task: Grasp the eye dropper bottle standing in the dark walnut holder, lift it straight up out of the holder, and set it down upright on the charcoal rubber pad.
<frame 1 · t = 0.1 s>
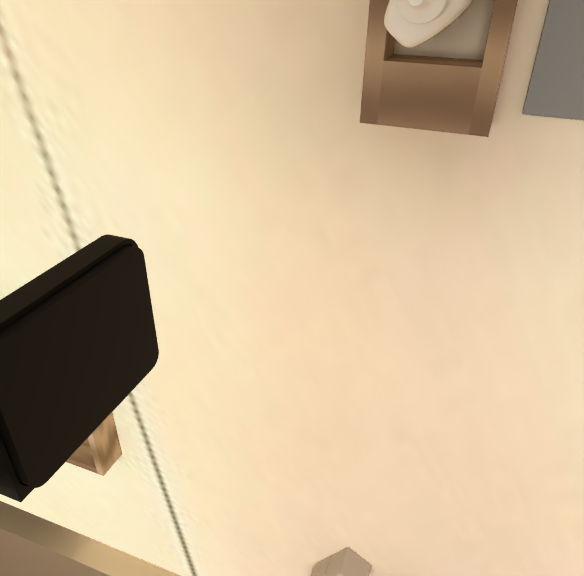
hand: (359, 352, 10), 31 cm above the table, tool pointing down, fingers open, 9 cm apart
box frame: (51, 381, 71), on the table
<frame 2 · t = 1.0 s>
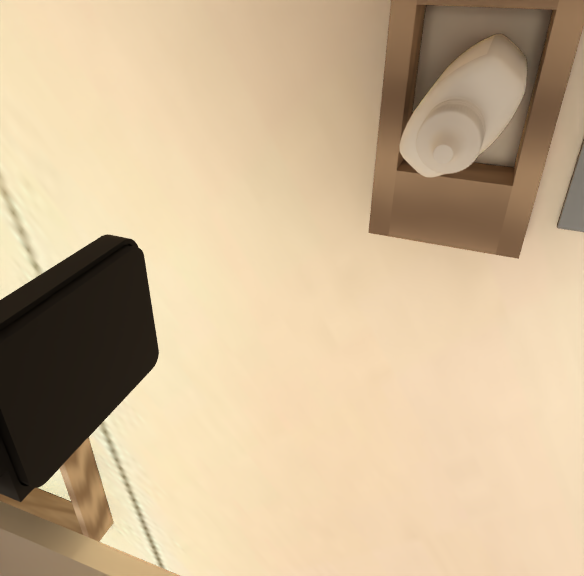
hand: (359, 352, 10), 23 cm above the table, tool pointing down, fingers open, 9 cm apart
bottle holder: (472, 87, 28), on the table
box frame: (37, 449, 67), on the table
eye dropper bottle: (472, 86, 28), resting in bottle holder
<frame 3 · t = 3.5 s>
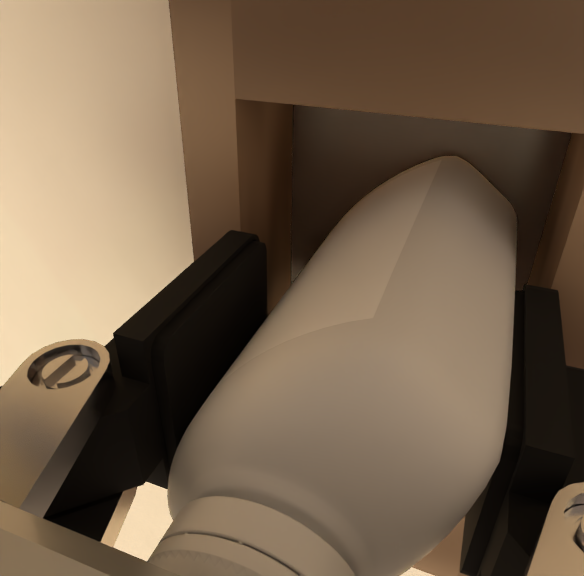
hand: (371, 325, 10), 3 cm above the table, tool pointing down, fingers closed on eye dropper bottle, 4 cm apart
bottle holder: (402, 251, 13), on the table
eye dropper bottle: (404, 248, 13), resting in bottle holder, touching gripper
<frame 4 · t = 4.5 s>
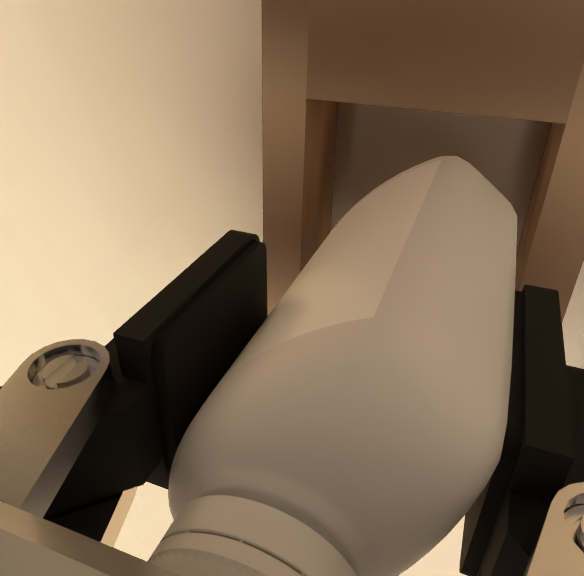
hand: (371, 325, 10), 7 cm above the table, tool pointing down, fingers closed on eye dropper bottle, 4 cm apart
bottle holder: (421, 221, 17), on the table
eye dropper bottle: (404, 248, 13), point 4 cm above the table, touching gripper
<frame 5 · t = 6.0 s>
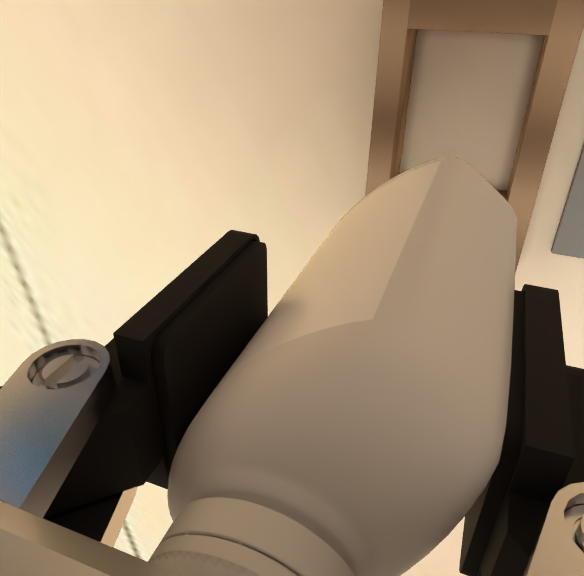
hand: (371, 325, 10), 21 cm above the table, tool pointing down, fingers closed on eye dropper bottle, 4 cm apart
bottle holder: (464, 111, 27), on the table
eye dropper bottle: (403, 249, 13), point 17 cm above the table, touching gripper
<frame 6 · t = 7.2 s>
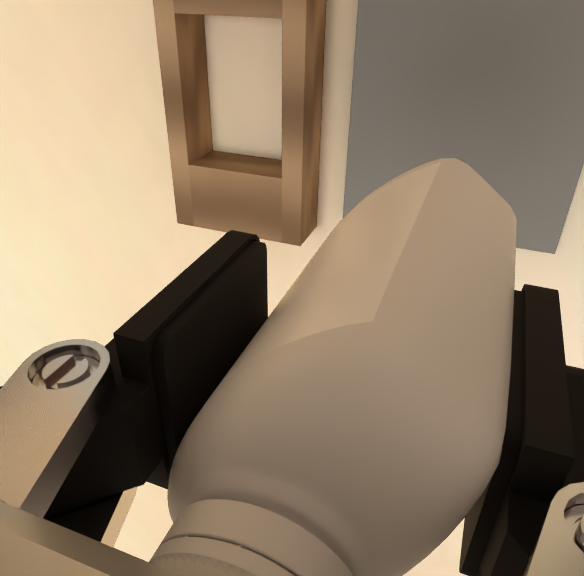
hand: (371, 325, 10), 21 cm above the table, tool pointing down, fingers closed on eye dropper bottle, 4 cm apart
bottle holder: (253, 89, 30), on the table
eye dropper bottle: (403, 249, 13), point 17 cm above the table, touching gripper
rubber pad: (466, 109, 27), on the table
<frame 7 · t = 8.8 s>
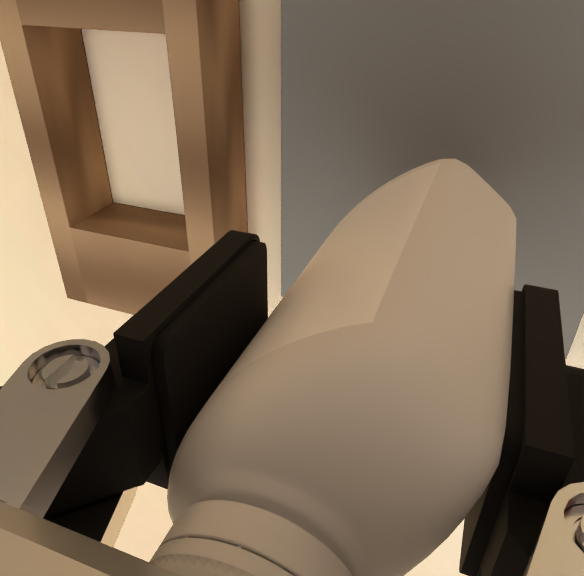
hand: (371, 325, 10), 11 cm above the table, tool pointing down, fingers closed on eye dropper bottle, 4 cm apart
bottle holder: (154, 126, 22), on the table
eye dropper bottle: (403, 250, 13), point 7 cm above the table, touching gripper
rubber pad: (440, 161, 19), on the table
when the fingers open (5 cm above the table, at t = 10.3 s): eye dropper bottle drops 1 cm, resting on rubber pad.
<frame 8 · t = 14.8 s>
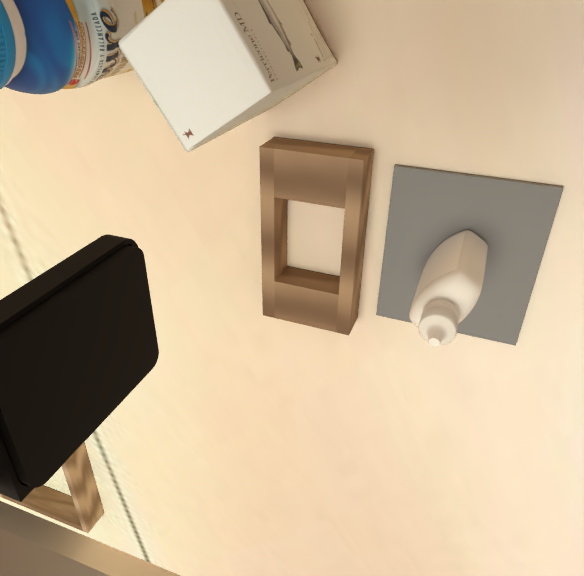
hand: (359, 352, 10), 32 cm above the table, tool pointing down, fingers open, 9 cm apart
beverage bottle: (150, 8, 42), on the table
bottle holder: (318, 232, 46), on the table
supplement box: (277, 43, 39), on the table
box frame: (44, 453, 85), on the table
eye dropper bottle: (455, 256, 42), resting on rubber pad
rubber pad: (458, 257, 42), on the table
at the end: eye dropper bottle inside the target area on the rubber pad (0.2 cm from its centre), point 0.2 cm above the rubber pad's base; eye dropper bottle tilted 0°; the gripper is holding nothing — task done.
